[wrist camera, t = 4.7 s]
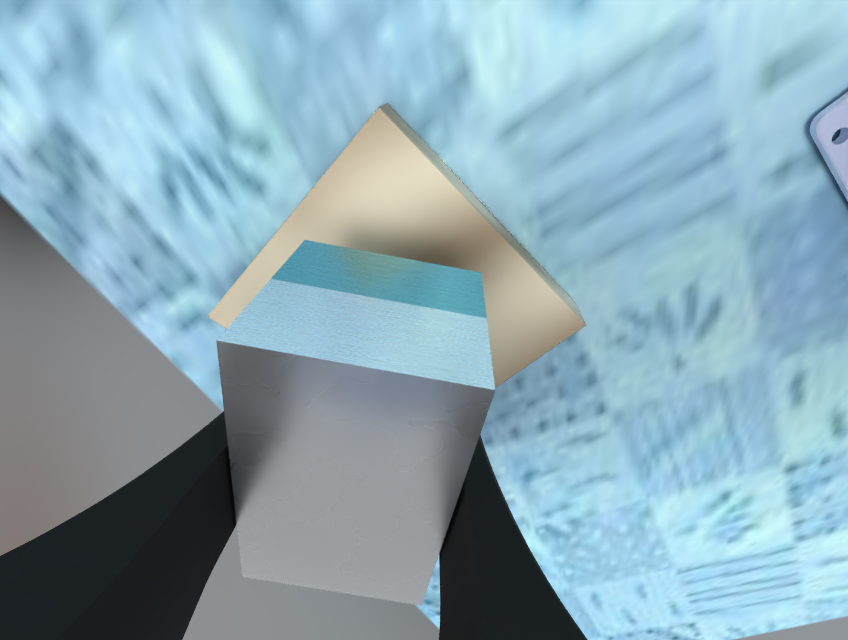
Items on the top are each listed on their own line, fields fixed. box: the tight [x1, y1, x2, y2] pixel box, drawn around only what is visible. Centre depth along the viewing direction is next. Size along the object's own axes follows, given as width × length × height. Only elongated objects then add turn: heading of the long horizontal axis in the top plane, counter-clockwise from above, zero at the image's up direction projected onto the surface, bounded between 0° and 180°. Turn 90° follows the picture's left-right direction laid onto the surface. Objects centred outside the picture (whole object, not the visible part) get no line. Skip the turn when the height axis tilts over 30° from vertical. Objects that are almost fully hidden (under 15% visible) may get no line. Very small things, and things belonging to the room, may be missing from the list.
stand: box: [208, 103, 586, 387], centre depth 18 cm, size 11×11×2 cm
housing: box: [217, 240, 495, 605], centre depth 12 cm, size 8×5×5 cm, turn 170°
